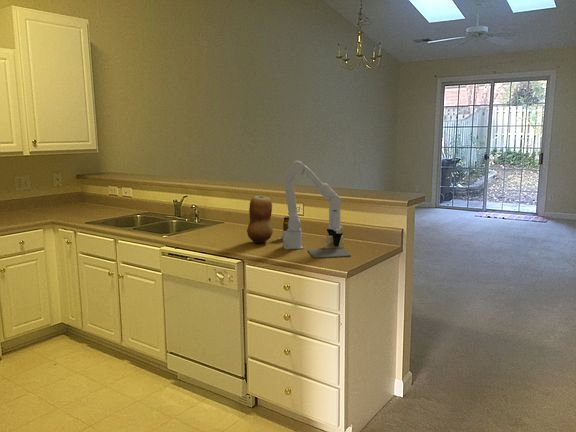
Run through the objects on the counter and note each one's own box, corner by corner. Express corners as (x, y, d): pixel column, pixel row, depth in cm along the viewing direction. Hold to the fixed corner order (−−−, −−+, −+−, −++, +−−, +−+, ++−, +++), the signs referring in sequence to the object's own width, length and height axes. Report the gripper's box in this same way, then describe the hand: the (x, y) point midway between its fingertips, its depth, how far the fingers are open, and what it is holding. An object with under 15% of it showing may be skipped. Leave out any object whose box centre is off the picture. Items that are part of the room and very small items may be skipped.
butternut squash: (269, 246, 255) (268, 198, 250) (244, 245, 257) (243, 197, 253) (275, 240, 268) (274, 194, 264) (251, 239, 271) (250, 194, 266)
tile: (326, 248, 249) (326, 237, 248) (325, 247, 252) (325, 235, 251) (343, 247, 251) (343, 236, 250) (341, 246, 254) (342, 235, 253)
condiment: (293, 239, 269) (293, 218, 267) (278, 239, 270) (278, 217, 268) (295, 236, 276) (295, 215, 274) (280, 236, 277) (280, 215, 275)
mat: (314, 258, 231) (314, 257, 230) (307, 251, 244) (307, 250, 244) (351, 256, 234) (351, 255, 233) (342, 249, 247) (342, 248, 247)
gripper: (346, 220, 242) (346, 247, 245) (338, 215, 256) (338, 240, 259) (332, 221, 241) (332, 248, 244) (325, 216, 255) (325, 241, 258)
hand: (334, 244), depth 251 cm, fingers open, 7 cm apart
